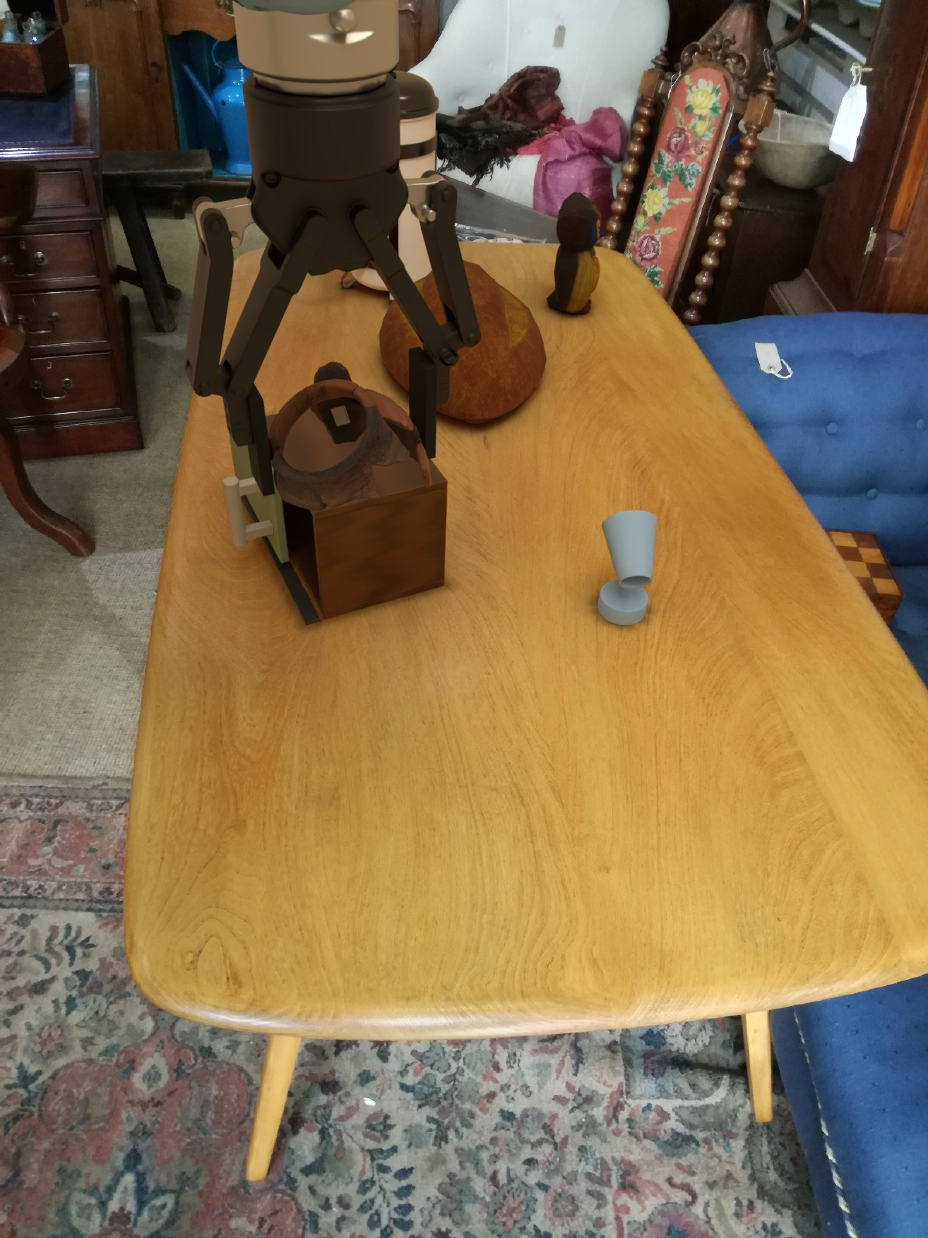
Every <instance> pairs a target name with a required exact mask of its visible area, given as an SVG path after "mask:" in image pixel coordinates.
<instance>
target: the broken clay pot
mask: <svg viewBox="0 0 928 1238" xmlns="http://www.w3.org/2000/svg"><path fill="white" fill-rule="evenodd" d="M310 407H311V411H312V412H313V413H315V414H316V416H317V418H318V419H319V420H320V421H322V422H323V424H324V426H325V427H326V430H327V432H328V434H329V435H330V436H331V438H332V441H333V443H334V444H342V443H346V442H356V441H357V440H358V438H359V437H360V436H361V435H362V434H363V433H364V434H363V437H362V439H361V441H360V443H359V444H358V446H357V448H356V449H355V450H354V451H353V453H351V455H349V456H348V457H347V458H346V459H344V460H343V461H341V462H340V463H338V464H337V465H335V466H333V467H331V468H328V469H326V470H323V471H317V472H305V471H299V470H297V469H294V468H292V467H291V466H290V465H289V464H288V463H287V462H286V460H285V459H284V457H283V450H284V444H285V441H286V438H287V435H288V434H289V431H290V429H291V428H292V426H293V425H294V424H295V422H296V421H297V420H298V419H299V418H300V416H301V415H302V414H304V413H305V412H306V411H307V410H308V409H309V408H310ZM276 414H277V416H276V417H275V419H274V421H273V423H272V425H271V428H270V431H269V435H268V439H269V443H270V444H272V445H273V446H274V447H275V449H274V457H273V460H272V462H271V465H272V467H273V475H274V481H275V485H276V488H277V490H278V492H279V494H280V497H281V498H282V500H284V501H286V502H288V503H290V504H292V505H295V506H298V507H301V508H305V509H312V510H316V511H322V510H324V509H325V508H326V507H327V505H328V506H329V507H331V508H335V507H338V506H341V505H343V504H345V503H348V502H350V501H352V500H355V499H358V498H368V499H380V495H379V494H378V492H377V488H376V483H375V480H374V476H373V470H372V465H379V466H383V467H386V466H389V465H392V464H395V463H403V462H405V461H406V460H407V458H408V457H411V458H413V459H414V460H415V461H416V462H417V463H418V464H419V466H420V471H421V472H422V474H423V480H424V484H425V486H426V487H431V485H432V479H431V474H430V469H429V461H428V458H427V454H426V450H425V449H424V447H423V445H422V443H421V439H420V437H419V432H418V430H417V427H416V426H415V425H414V423H413V422H412V421H411V419H410V417H409V413H407V411H406V410H405V409H404V408H402V407H401V406H400V405H399V404H398V403H397V402H396V401H395V400H393V399H392V398H390V397H388V396H387V395H385V394H383V393H381V392H379V391H376V390H374V389H370V388H365V387H363V386H360V385H359V384H358V383H356V382H354V381H353V380H352V377H351V374H350V372H349V370H348V368H347V367H346V366H344V365H343V363H341V362H339V361H328V362H327V363H325V364H324V365H322V366H320V367H318V369H317V370H316V372H315V374H314V377H313V383H312V384H310V385H307V386H306V387H304V388H303V389H301V390H299V391H297V393H295V394H294V395H293V396H292V397H290V398H289V399H288V400H287V401H286V402H285V403H284V404H283V405H282V407H281V408H280V409H279V410H278V413H276Z"/></svg>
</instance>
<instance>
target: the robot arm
mask: <svg viewBox="0 0 928 1238" xmlns="http://www.w3.org/2000/svg"><path fill="white" fill-rule="evenodd" d="M231 1H232V6H233V19H234V27H235V35H236V44H237V55H238V61H239V62H240V63H241V64H242V65H243V66H244V67H245V68H246V69H247V70H248V71H249V72H251V73H249V75H247V76H246V78H245V81H244V82H243V83H242V87H241V88H242V90H241V91H242V97H243V99H242V100H243V106H244V117H245V122H246V134H247V143H248V150H249V159H250V169H251V176H250V183H249V185H248V186H249V187H248V188H247V191H246V193H245V196H244V197H239V198H234V199H228V200H224V201H218V202H214V201H213V200H212V199H211V198H210V197H209V196H199V197H197V198H196V199H195V200H193V203H192V206H191V212H192V215H193V220H194V225H195V230H196V234H197V238H198V243H199V246H198V252H197V259H196V260H197V261H196V270H195V277H194V284H193V291H192V292H193V293H192V298H191V299H192V300H191V309H190V315H189V322H188V331H187V339H186V346H185V353H184V361H183V371H184V374H185V375H186V377H187V379H188V381H189V383H190V385H191V387H192V389H193V392H194V393H195V394H196V395H197V396H198V397H200V398H208V397H210V396H212V395H213V396H218V397H221V398H222V404H223V409H224V416H225V421H226V422H225V423H226V428H227V432H228V434H229V433H230V434H231V436H232V438H233V440H234V442H235V443H236V445H237V446H238V447H241V446H246V445H248V452H249V459H250V466H251V473H252V475H253V477H254V479H255V481H256V483H257V485H258V487H259V489H260V491H261V493H262V495H263V496H268V495H272V494H275V487H274V479H273V471H272V465H271V455H270V447H269V439H268V431H267V423H266V416H267V415H266V408H265V400H264V397H263V395H261V392H260V390H259V389H258V388H257V385H256V384H255V381H256V378H257V377H258V375H259V372H260V370H261V368H262V365H263V364H264V361H265V358H266V356H267V354H268V351H269V350H270V348H271V345H272V343H273V341H274V339H275V336H276V334H277V332H278V330H279V327H280V325H281V323H282V321H283V319H284V316H285V315H286V312H287V310H288V307H289V306H290V302H291V301H292V298H293V296H295V295H298V293H299V292H300V290H301V288H302V287H303V284H304V282H305V279H306V277H307V275H309V276H310V277H317V276H323V275H326V274H327V275H328V274H329V273H332V272H333V271H335V270H338V269H339V268H340V269H348V270H357V269H364V268H366V263H368V262H371V264H372V265H373V267H374V268H375V270H376V271H377V273H378V275H379V276H380V278H381V279H382V281H383V282H384V284H385V286H386V287H387V289H388V290H389V291H388V293H389V292H390V293H391V295H392V297H393V298H394V300H395V301H396V303H397V305H398V306H399V308H400V309H401V311H402V312H403V314H404V316H405V317H406V319H407V320H408V322H409V323H410V325H411V327H412V328H413V330H414V331H415V333H416V334H417V336H418V338H419V339H420V341H421V342H422V343H423V350H422V348H421V347H415V348H410V349H409V392H408V404H409V405H408V415H409V417H410V419H411V421H412V422H413V423H414V425H415V426H416V427H417V430H418V432H419V437H420V439H421V443H422V445H423V447H424V449H425V450H426V454H427V458H428V459H431V460H432V459H435V458H437V412H438V411H437V406H439V405H444V404H446V403H447V401H448V398H449V386H450V383H449V382H450V368H452V367H453V366H455V365H456V364H457V362H458V360H459V354H458V352H457V350H459V349H461V348H463V347H464V346H467V347H474V346H476V345H477V344H478V343H479V342H480V339H481V332H480V328H479V324H478V320H477V316H476V312H475V308H474V304H473V300H472V296H471V292H470V287H469V283H468V279H467V275H466V271H465V267H464V263H463V260H464V259H463V255H462V252H461V248H460V243H459V239H458V234H457V231H456V217H457V205H458V191H457V188H456V187H455V186H454V185H453V184H452V183H450V182H449V181H448V180H447V179H445V178H444V177H443V176H442V175H440V174H439V173H438V172H437V173H436V172H435V171H433V170H428V171H426V172H424V173H423V174H422V176H421V178H408V179H404V178H403V176H402V174H401V171H400V166H399V159H400V88H399V85H398V84H397V83H396V82H395V79H394V78H393V77H392V76H391V75H390V74H388V72H389V71H390V70H391V69H393V68H394V67H395V66H396V64H397V63H398V64H399V62H400V32H399V31H400V29H399V28H400V27H399V22H400V21H399V18H400V17H399V0H231ZM398 64H397V65H398ZM407 204H410V209H411V212H412V214H413V215H414V216H415V217H417V218H418V219H419V223H420V228H421V232H422V235H423V239H424V243H425V246H426V250H427V254H428V257H429V261H430V265H431V268H432V272H433V275H434V279H435V283H436V286H437V290H438V294H439V297H440V301H441V305H442V308H443V312H444V316H445V319H446V322H445V323H444V324H442V325H439V324H438V322H437V320H436V319H435V317H434V315H433V314H432V312H431V310H430V309H429V307H428V305H427V304H426V302H425V300H424V299H423V297H422V295H421V294H420V292H419V290H418V289H417V287H416V286H415V284H414V282H413V281H412V279H411V277H410V276H409V274H408V272H407V271H406V269H405V266H404V264H403V262H402V260H401V258H400V257H399V255H398V254H397V252H396V250H395V249H394V247H393V245H392V244H391V242H390V240H389V239H388V235H389V234H390V232H391V230H392V229H393V227H394V225H395V224H396V222H397V220H398V219H399V217H400V215H401V214H402V212H403V210H404V208H405V207H406V205H407ZM253 224H255V225H256V226H257V227H258V229H259V230H260V231H261V232H262V233H263V234H264V235H265V236H266V237H267V238H268V240H267V243H266V244H265V247H264V249H263V252H262V255H261V258H260V261H259V271H258V273H257V276H256V278H255V280H254V283H253V285H252V287H251V290H250V292H249V294H248V297H247V299H246V302H245V304H244V306H243V308H242V311H241V314H240V315H239V318H238V320H237V322H236V326H235V327H234V330H233V332H232V335H231V337H230V338H229V342H228V344H227V346H226V348H225V351H224V352H223V353H224V354H223V356H222V349H223V342H224V335H225V330H226V329H225V328H226V322H227V317H228V310H229V304H230V303H229V302H230V296H231V289H232V284H233V276H234V269H235V259H234V250H235V249H238V248H240V247H241V245H242V244H243V241H244V235H245V230H246V229H247V228H248V227H249V226H250V225H253ZM221 356H222V357H221Z"/></svg>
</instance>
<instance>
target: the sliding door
mask: <svg viewBox="0 0 928 1238" xmlns="http://www.w3.org/2000/svg"><path fill="white" fill-rule="evenodd" d="M228 436H229V444H230V450H231V456H232V462H233V469H234V475H235V476H227V477H225V478H224V479H223V480H222V485H223V486H222V487H223V492H224V498H225V505H226V511H227V516H228V522H229V529H230V534H231V541H232V545H233V546H234V547H235V548H243V547H246V546H247V545H248V544H249V541H250V540H254V539H258V538H261V537H262V536H266V535H267V537H268V539H269V541H270V543H271V545H272V546H273V548H274V550H275V552H276V554H277V556H278V558H279V560H280V562H281V563H285V562H289V560H290V558H289V557H290V555H289V553H288V547H287V538H286V530H285V521H284V512H283V504H282V498H281V497H280V494H279V492H278V490H277V488H276V485H275V481H274V487H275V494H272V495H268V496H263V495H262V493H261V491H260V489H259V487H258V485H257V483H256V481H255V479H254V477H253V475H252V473H251V466H250V459H249V452H248V445H246V446H241V447H238V446H237V445H236V443H235V442H234V440H233V438H232V436H231V434H230V433H229V432H228ZM271 462H272V461H271ZM272 471H273V467H272ZM273 479H274V475H273ZM243 495H246V496H247V498H248V500H249V502H250V504H251V506H252V508H253V510H254V512H255V514H256V516H257V518H258V519H259V521H260V522H258V523H254V522H253V523H251V524H246V519H245V518H246V517H245V512H244V511H245V510H244V505H243V504H244V503H243V501H242V498H241V496H243Z"/></svg>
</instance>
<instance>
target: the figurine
mask: <svg viewBox="0 0 928 1238" xmlns="http://www.w3.org/2000/svg"><path fill="white" fill-rule="evenodd" d="M602 220H603V219H602V215H601V211H600V209H599V207H598V206H597V204H596V203H595V202H594V201H593V200H591V199H590V198H589V197H587V196H586V195H585V194H584V193H582V192H580V191H579V192H578V191H574V192H572V193H571V194H569V195H568V196H567V197H566V198H565V199H563V200H562V203H561V206H560V208H559V210H558V212H557V221H556V228H555V229H556V237H557V239H558V243H559V246H558V248H557V251H556V254H555V255H556V256H555V262H554V268H553V278H554V279H553V280H554V289H553V291H552V292H551V293H550V294H549V295H548V296H547V297H546V303H547V305H548V306H549V307H551V308H553V309H556V310H558V311H562V312H566V313H569V314H575V315H577V314H587V313H589V312H590V310H591V309H592V306H591V305H592V300H591V296H592V294H593V293H594V292H595V291H596V289H597V287H598V283H599V279H600V274H601V264H600V260H599V258H598V257H597V251H596V249H595V245H596V244H597V242H598V241H599V240H600V239H602V238H604V237H605V236H606V234H605V231H604V230H603V229H602V223H603V221H602Z"/></svg>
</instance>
